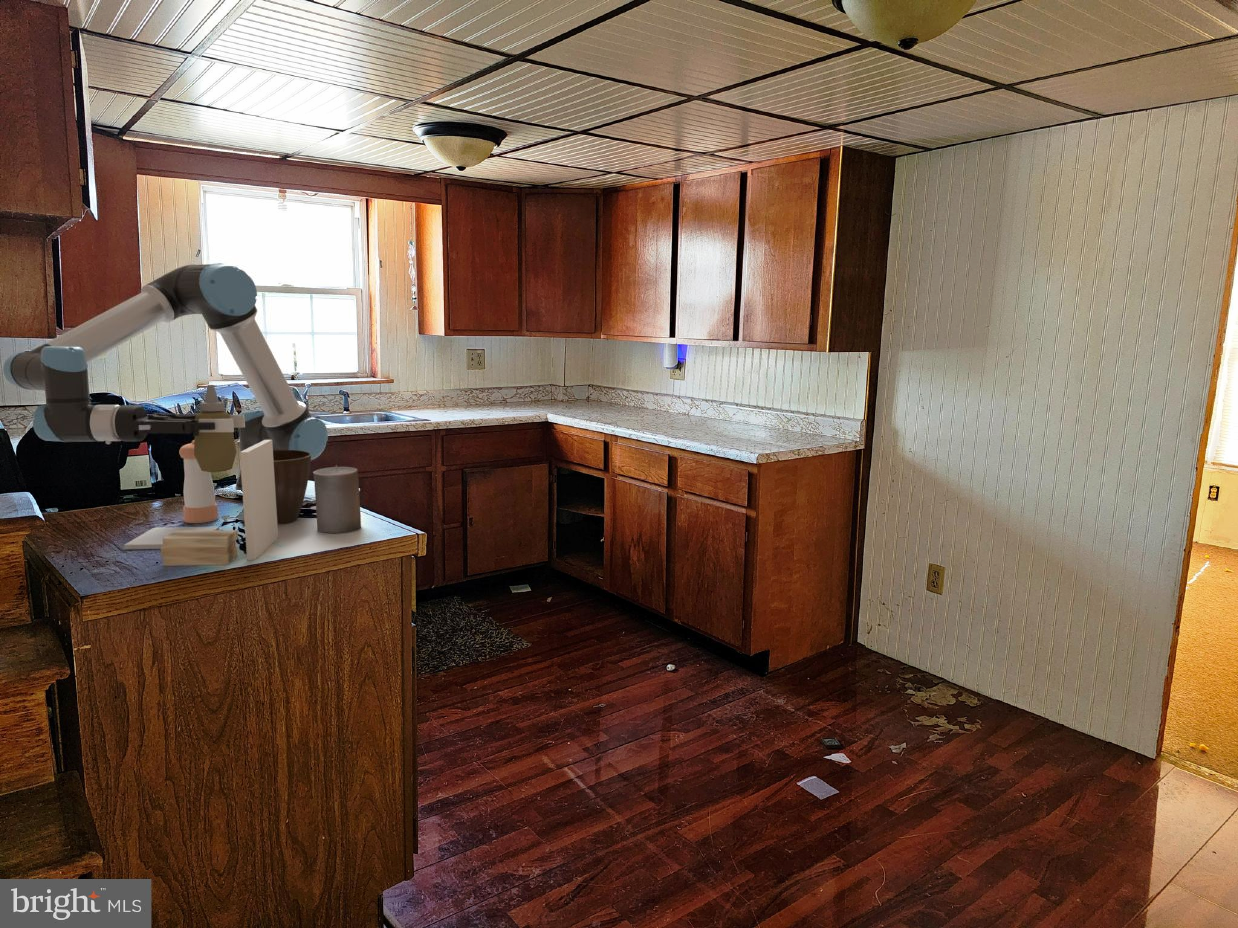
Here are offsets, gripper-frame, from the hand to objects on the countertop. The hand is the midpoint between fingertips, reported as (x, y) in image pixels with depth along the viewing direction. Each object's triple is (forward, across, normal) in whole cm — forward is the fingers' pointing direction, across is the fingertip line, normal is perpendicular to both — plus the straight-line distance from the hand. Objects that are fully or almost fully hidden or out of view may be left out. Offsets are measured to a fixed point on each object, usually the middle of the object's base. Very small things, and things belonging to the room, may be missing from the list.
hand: (238, 423), depth 171 cm
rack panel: (+5, +5, -26) cm, 27 cm away
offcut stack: (-5, +13, -26) cm, 29 cm away
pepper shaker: (-17, -22, -26) cm, 38 cm away
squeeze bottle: (-5, 0, -10) cm, 11 cm away
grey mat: (-16, -4, -26) cm, 31 cm away
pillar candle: (+17, -11, -26) cm, 33 cm away
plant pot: (+2, -19, -26) cm, 33 cm away
